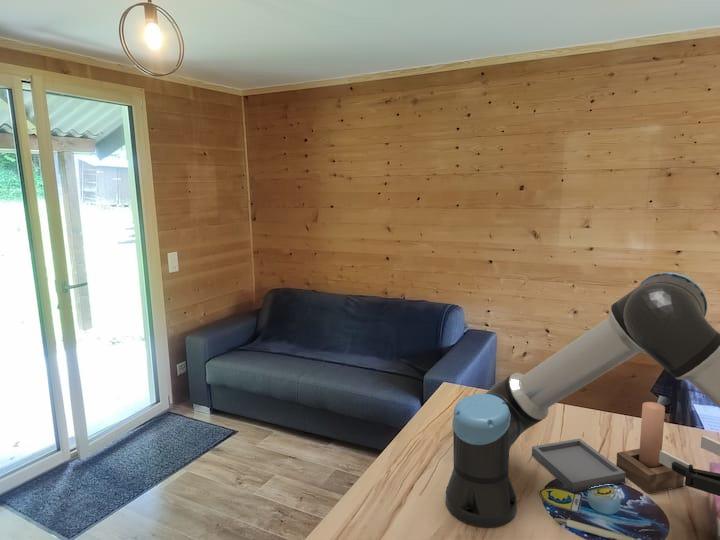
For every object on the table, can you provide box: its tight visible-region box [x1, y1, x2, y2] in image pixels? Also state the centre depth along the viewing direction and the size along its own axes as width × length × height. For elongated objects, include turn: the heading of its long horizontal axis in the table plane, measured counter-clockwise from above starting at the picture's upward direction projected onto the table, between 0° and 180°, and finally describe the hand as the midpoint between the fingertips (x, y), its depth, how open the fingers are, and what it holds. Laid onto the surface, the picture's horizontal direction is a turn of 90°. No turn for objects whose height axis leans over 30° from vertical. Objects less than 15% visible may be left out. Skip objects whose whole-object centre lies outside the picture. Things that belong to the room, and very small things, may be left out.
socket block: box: [615, 448, 685, 494], centre depth 113 cm, size 10×10×4 cm
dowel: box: [639, 401, 666, 469], centre depth 112 cm, size 4×4×18 cm
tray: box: [531, 438, 626, 494], centre depth 118 cm, size 14×16×2 cm
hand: (681, 448), depth 105 cm, fingers open, 13 cm apart
